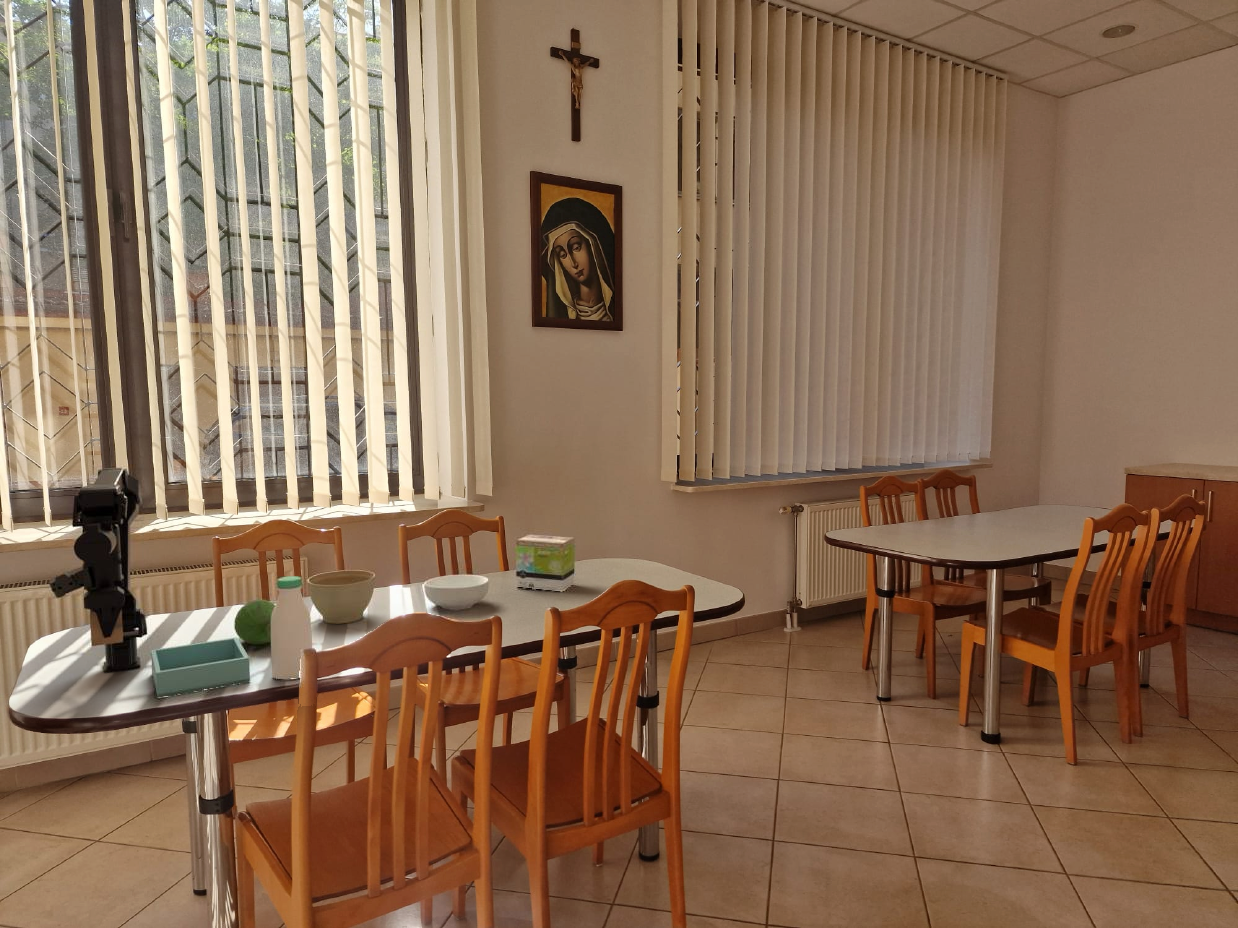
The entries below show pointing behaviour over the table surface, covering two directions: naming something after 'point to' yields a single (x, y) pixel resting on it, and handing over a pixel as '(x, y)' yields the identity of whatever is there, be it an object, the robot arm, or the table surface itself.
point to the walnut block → (97, 633)
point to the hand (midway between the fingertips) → (107, 633)
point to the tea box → (545, 562)
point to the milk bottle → (289, 629)
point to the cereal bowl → (456, 590)
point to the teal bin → (199, 666)
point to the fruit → (255, 622)
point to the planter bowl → (341, 594)
